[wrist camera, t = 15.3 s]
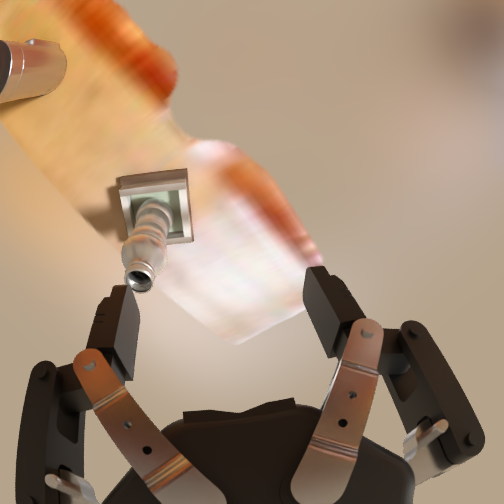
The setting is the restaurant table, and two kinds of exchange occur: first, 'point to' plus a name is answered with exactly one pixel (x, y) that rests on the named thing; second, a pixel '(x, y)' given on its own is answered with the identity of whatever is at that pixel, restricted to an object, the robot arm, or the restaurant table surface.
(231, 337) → the restaurant table surface
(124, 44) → the restaurant table surface
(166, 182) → the socket board
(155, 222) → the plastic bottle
